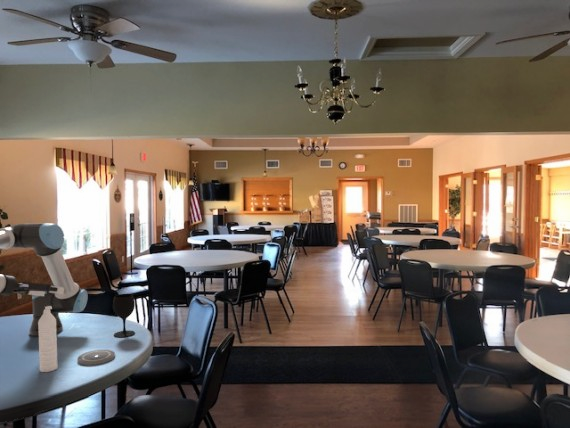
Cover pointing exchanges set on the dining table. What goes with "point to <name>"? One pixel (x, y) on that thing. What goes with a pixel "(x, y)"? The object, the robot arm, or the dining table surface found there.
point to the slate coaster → (96, 357)
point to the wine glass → (123, 312)
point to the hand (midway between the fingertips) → (53, 292)
